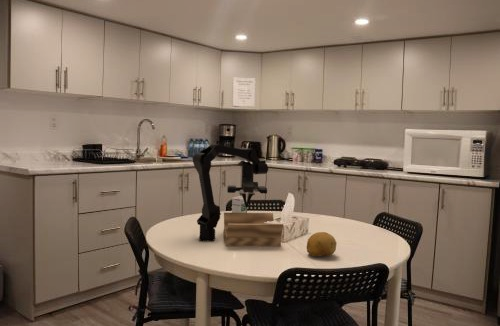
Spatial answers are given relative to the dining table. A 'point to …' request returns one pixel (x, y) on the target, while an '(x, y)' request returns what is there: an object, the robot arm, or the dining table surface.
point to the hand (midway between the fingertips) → (246, 207)
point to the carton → (251, 241)
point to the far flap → (246, 218)
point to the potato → (321, 244)
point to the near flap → (254, 230)
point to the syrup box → (238, 205)
